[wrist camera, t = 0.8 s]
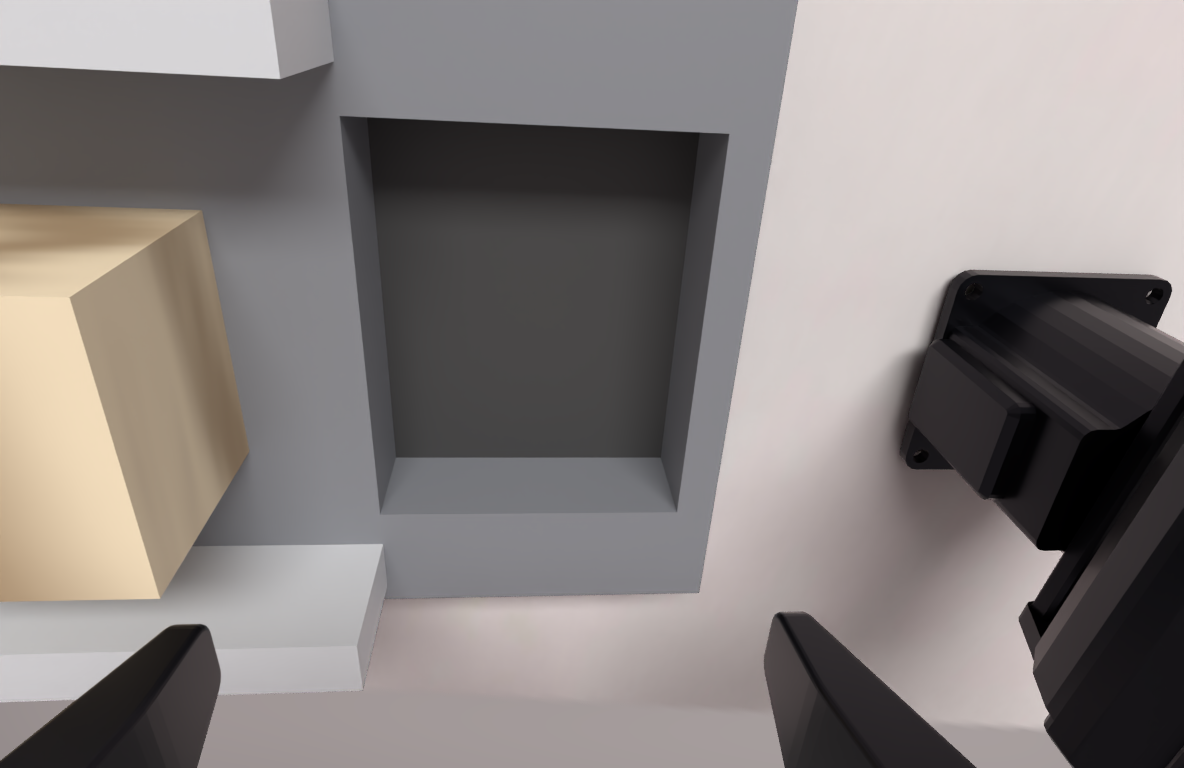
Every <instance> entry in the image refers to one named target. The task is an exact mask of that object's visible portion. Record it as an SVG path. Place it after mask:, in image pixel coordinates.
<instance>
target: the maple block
mask: <svg viewBox="0 0 1184 768" xmlns="http://www.w3.org/2000/svg"><path fill="white" fill-rule="evenodd" d="M248 453H249V446H248V441H247V436H246V431H245V426H244V421H243V416H242V410H241V405H240V400H239V395H238V390H237V385H236V380H235V375H234V370H233V365H232V360H231V355H230V350H229V345H228V340H227V335H226V330H225V324H224V319H223V314H222V309H221V304H220V299H219V294H218V289H217V284H216V279H215V274H214V269H213V264H212V259H211V254H210V249H209V243H208V238H207V233H206V228H205V223H204V218H203V213H202V210H181V209H150V208H119V207H89V206H58V205H27V204H0V602H18V601H71V600H125V599H160V598H161V597H162V595H163V593H164V592H165V590H166V588H167V587H168V585H169V583H170V582H171V580H172V578H173V577H174V575H175V573H176V572H177V570H178V569H179V567H180V565H181V564H182V562H183V560H184V559H185V557H186V555H187V554H188V552H189V550H190V549H191V547H192V545H193V544H194V542H195V540H196V539H197V537H198V535H199V534H200V532H201V531H202V529H203V527H204V526H205V524H206V522H207V521H208V519H209V517H210V516H211V514H212V512H213V511H214V509H215V507H216V506H217V504H218V502H219V501H220V499H221V498H222V496H223V494H224V493H225V491H226V489H227V488H228V486H229V484H230V483H231V481H232V479H233V478H234V476H235V474H236V473H237V471H238V469H239V468H240V466H241V464H242V463H243V461H244V460H245V458H246V456H247V455H248Z"/></svg>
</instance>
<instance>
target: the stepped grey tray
mask: <svg viewBox="0 0 1184 768" xmlns="http://www.w3.org/2000/svg"><path fill="white" fill-rule="evenodd" d="M797 4H798V0H0V204H27V205H58V206H89V207H119V208H150V209H181V210H202V213H203V218H204V223H205V228H206V233H207V238H208V243H209V249H210V254H211V259H212V264H213V269H214V274H215V279H216V284H217V289H218V294H219V299H220V304H221V309H222V314H223V319H224V324H225V330H226V335H227V340H228V345H229V350H230V355H231V360H232V365H233V370H234V375H235V380H236V385H237V390H238V395H239V400H240V405H241V410H242V416H243V421H244V426H245V431H246V436H247V441H248V446H249V453H248V455H247V456H246V458H245V460H244V461H243V463H242V464H241V466H240V468H239V469H238V471H237V473H236V474H235V476H234V478H233V479H232V481H231V483H230V484H229V486H228V488H227V489H226V491H225V493H224V494H223V496H222V498H221V499H220V501H219V502H218V504H217V506H216V507H215V509H214V511H213V512H212V514H211V516H210V517H209V519H208V521H207V522H206V524H205V526H204V527H203V529H202V531H201V532H200V534H199V535H198V537H197V539H196V540H195V542H194V544H193V545H192V547H191V549H190V550H189V552H188V554H187V555H186V557H185V559H184V560H183V562H182V564H181V565H180V567H179V569H178V570H177V572H176V573H175V575H174V577H173V578H172V580H171V582H170V583H169V585H168V587H167V588H166V590H165V592H164V593H163V595H162V597H161V598H160V599H125V600H71V601H18V602H0V702H21V701H52V700H77V699H78V698H79V697H80V696H82V695H83V694H84V693H85V692H87V691H88V690H89V689H90V688H92V687H93V686H94V685H95V684H97V683H98V682H99V681H100V680H102V679H103V678H104V677H105V676H107V675H108V674H109V673H110V672H112V671H113V670H114V669H115V668H117V667H118V666H119V665H120V664H122V663H123V662H124V661H125V660H127V659H128V658H129V657H130V656H132V655H133V654H134V653H135V652H137V651H138V650H139V649H140V648H142V647H143V646H144V645H145V644H147V643H148V642H149V641H150V640H152V639H153V638H154V637H155V636H157V635H158V634H159V633H160V632H162V631H163V630H164V629H166V628H167V627H169V626H171V625H175V624H203V625H206V626H207V627H208V628H209V630H210V632H211V636H212V639H213V643H214V647H215V650H216V654H217V658H218V661H219V665H220V669H221V683H220V688H219V692H218V695H242V694H274V693H303V692H337V691H363V688H364V684H365V680H366V676H367V671H368V667H369V663H370V658H371V654H372V650H373V645H374V641H375V637H376V632H377V628H378V624H379V619H380V615H381V611H382V607H383V602H384V599H407V598H459V597H511V596H563V595H615V594H667V593H699V590H700V584H701V578H702V572H703V566H704V560H705V554H706V548H707V542H708V536H709V530H710V524H711V518H712V512H713V506H714V500H715V494H716V488H717V482H718V476H719V470H720V464H721V458H722V452H723V446H724V440H725V434H726V428H727V422H728V416H729V410H730V404H731V398H732V392H733V386H734V380H735V375H736V369H737V363H738V357H739V351H740V345H741V339H742V333H743V327H744V321H745V315H746V309H747V303H748V297H749V291H750V285H751V279H752V273H753V267H754V261H755V255H756V249H757V243H758V237H759V231H760V225H761V219H762V213H763V207H764V201H765V195H766V189H767V183H768V177H769V171H770V165H771V159H772V153H773V148H774V142H775V136H776V130H777V124H778V118H779V112H780V106H781V100H782V94H783V88H784V82H785V76H786V70H787V64H788V58H789V52H790V46H791V40H792V34H793V28H794V22H795V16H796V10H797Z"/></svg>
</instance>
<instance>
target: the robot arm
mask: <svg viewBox="0 0 1184 768" xmlns="http://www.w3.org/2000/svg"><path fill="white" fill-rule="evenodd" d="M974 283H975V288H974V289H973V291H972V292H971V293H969V294H967V295H965V291H966V289H967V288H968V287H969V286H970V285H971V284H974ZM1151 290H1152V292H1151V294H1150V295H1149V296H1148V297H1146V295H1147V294H1148V293H1149V291H1151ZM1171 292H1172V287H1171V284H1170V283H1169V282H1168V281H1166V280H1164V279H1162V278H1159V277H1157V276H1154V275H1138V274H1102V273H1065V272H1029V271H993V270H968V271H964V272H962V273H960V274H958V275H957V276H956V277H955V278H954V279H953V281H952V283H951V285H950V287H949V290H948V293H947V297H946V300H945V303H944V307H943V310H942V313H941V316H940V320H939V323H938V326H937V330H936V333H935V336H934V339H933V342H932V343H931V345H930V346H929V348H928V351H927V354H926V357H925V361H924V364H923V367H922V371H921V374H920V377H919V381H918V384H917V387H916V390H915V394H914V397H913V400H912V404H911V407H910V410H909V414H908V418H909V422H908V425H907V428H906V432H905V435H904V438H903V441H902V445H901V448H900V456H901V458H902V460H903V461H904V462H905V463H906V464H907V466H909V467H910V468H912V469H955V470H956V471H957V472H958V473H959V474H960V476H961V477H962V478H963V479H964V480H965V481H966V482H967V483H968V484H969V485H970V486H971V488H972V489H973V490H974V491H975V492H976V493H977V494H978V495H979V496H980V497H981V498H982V499H992V500H993V501H994V502H995V503H996V504H997V505H998V507H999V508H1000V509H1001V510H1002V511H1003V512H1004V513H1005V514H1006V515H1007V516H1008V517H1009V518H1010V519H1011V520H1012V522H1013V523H1014V524H1015V525H1016V526H1017V527H1018V528H1019V529H1020V530H1021V531H1022V532H1023V533H1024V534H1025V535H1026V537H1027V538H1028V539H1029V540H1030V541H1031V542H1032V543H1033V544H1034V545H1035V546H1036V547H1037V548H1038V549H1039V550H1043V551H1052V550H1060V551H1061V552H1062V553H1063V555H1062V557H1061V558H1060V560H1059V562H1058V563H1057V565H1056V567H1055V568H1054V570H1053V571H1052V573H1051V575H1050V576H1049V578H1048V579H1047V581H1046V583H1045V584H1044V586H1043V588H1042V589H1041V591H1040V592H1039V594H1038V596H1037V597H1036V599H1035V601H1031V602H1028V603H1027V605H1026V607H1025V608H1024V610H1023V612H1022V613H1021V615H1020V616H1019V622H1020V625H1021V628H1022V630H1023V633H1024V636H1025V638H1026V641H1027V644H1028V646H1029V649H1030V652H1031V654H1032V657H1033V660H1034V666H1033V675H1034V677H1035V680H1036V683H1037V685H1038V688H1039V691H1040V693H1041V696H1042V699H1043V701H1044V704H1045V707H1046V709H1047V710H1048V712H1049V715H1048V716H1047V718H1046V719H1045V721H1044V726H1045V729H1046V731H1047V733H1048V735H1049V736H1050V738H1051V740H1052V741H1053V742H1054V744H1055V745H1056V746H1057V748H1058V749H1059V750H1060V752H1061V753H1062V754H1063V756H1064V757H1065V758H1066V760H1067V761H1068V763H1069V764H1070V765H1071V767H1072V768H1184V343H1183V342H1181V341H1180V340H1178V339H1176V338H1174V337H1172V336H1170V335H1168V334H1166V333H1164V332H1162V331H1160V330H1158V329H1157V328H1156V327H1157V325H1158V322H1159V320H1160V318H1161V316H1162V314H1163V312H1164V309H1165V307H1166V305H1167V303H1168V301H1169V298H1170V296H1171ZM919 450H922V451H921V453H919V454H918V455H916V456H914V454H915V453H916V452H917V451H919ZM764 670H765V677H766V681H767V686H768V691H769V695H770V700H771V705H772V709H773V714H774V719H775V723H776V728H777V733H778V737H779V742H780V746H781V751H782V756H783V761H784V766H785V768H976V767H975V766H974V765H973V764H972V763H970V761H969V760H968V759H966V758H965V757H964V756H963V755H962V754H961V753H960V752H959V751H958V750H957V749H955V748H954V747H953V746H952V745H951V744H950V743H949V742H948V741H947V740H946V739H945V738H944V737H942V736H941V735H940V734H939V733H938V732H937V731H936V730H935V729H934V728H933V727H931V726H930V725H929V724H928V723H927V722H926V721H925V720H924V719H923V718H922V717H921V716H920V715H918V714H917V713H916V712H915V711H914V710H913V709H912V708H911V707H910V706H909V705H908V704H906V703H905V702H904V701H903V700H902V699H901V698H900V697H899V696H898V695H897V694H896V693H894V692H893V691H892V690H891V689H890V688H889V687H888V686H887V685H886V684H885V683H884V682H882V681H881V680H880V679H879V678H878V677H877V676H876V675H875V674H874V673H873V672H872V671H870V670H869V669H868V668H867V667H866V666H865V665H864V664H863V663H862V662H861V661H860V660H859V659H857V658H856V657H855V656H854V655H853V654H852V653H851V652H850V651H849V650H848V649H847V648H845V647H844V646H843V645H842V644H841V643H840V642H839V641H838V640H837V639H836V638H835V637H833V636H832V635H831V634H830V633H829V632H828V631H827V630H826V629H825V628H824V627H823V626H821V625H820V624H819V623H818V622H817V621H816V620H815V619H814V618H813V617H812V616H810V615H809V614H807V613H805V612H779V613H777V614H775V616H774V617H773V620H772V624H771V628H770V633H769V637H768V641H767V646H766V650H765V655H764ZM220 683H221V669H220V665H219V661H218V658H217V654H216V650H215V647H214V643H213V639H212V636H211V632H210V630H209V628H208V627H207V626H206V625H203V624H175V625H171V626H169V627H167V628H166V629H164V630H163V631H162V632H160V633H159V634H158V635H157V636H155V637H154V638H153V639H152V640H150V641H149V642H148V643H147V644H145V645H144V646H143V647H142V648H140V649H139V650H138V651H137V652H135V653H134V654H133V655H132V656H130V657H129V658H128V659H127V660H125V661H124V662H123V663H122V664H120V665H119V666H118V667H117V668H115V669H114V670H113V671H112V672H110V673H109V674H108V675H107V676H105V677H104V678H103V679H102V680H100V681H99V682H98V683H97V684H95V685H94V686H93V687H92V688H90V689H89V690H88V691H87V692H85V693H84V694H83V695H82V696H80V697H79V698H78V699H77V700H75V701H74V702H73V703H72V704H70V705H69V706H68V707H67V708H65V709H64V710H63V711H62V712H60V713H59V714H58V715H57V716H55V717H54V718H53V719H52V720H50V721H49V722H48V723H47V724H45V725H44V726H43V727H42V728H40V729H39V730H38V731H37V732H36V733H34V734H33V735H32V736H30V737H29V738H28V739H27V740H25V741H24V742H23V743H22V744H20V745H19V746H18V747H17V748H16V749H14V750H13V751H12V752H11V753H9V754H8V755H7V756H5V757H4V758H3V759H2V760H1V761H0V768H197V766H198V762H199V759H200V755H201V752H202V748H203V744H204V741H205V738H206V734H207V731H208V727H209V724H210V720H211V717H212V713H213V710H214V706H215V703H216V699H217V696H218V692H219V688H220Z"/></svg>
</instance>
